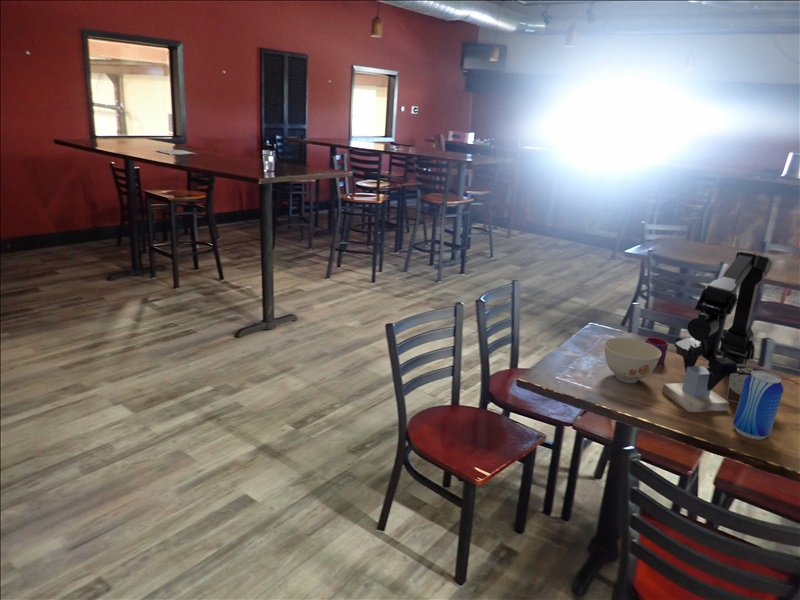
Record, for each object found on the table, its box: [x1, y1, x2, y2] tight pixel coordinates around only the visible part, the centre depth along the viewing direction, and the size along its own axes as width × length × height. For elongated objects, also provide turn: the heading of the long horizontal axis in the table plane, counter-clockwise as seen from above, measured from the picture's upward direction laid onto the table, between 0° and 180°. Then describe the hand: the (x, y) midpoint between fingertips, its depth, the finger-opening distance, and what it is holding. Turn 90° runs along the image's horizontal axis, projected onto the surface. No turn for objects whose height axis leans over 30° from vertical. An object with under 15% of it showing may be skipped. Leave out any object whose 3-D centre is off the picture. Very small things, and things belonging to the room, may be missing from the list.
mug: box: [645, 336, 669, 366], centre depth 191 cm, size 7×10×7 cm
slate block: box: [682, 365, 711, 397], centre depth 163 cm, size 5×5×7 cm
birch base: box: [661, 382, 730, 413], centre depth 164 cm, size 12×12×2 cm
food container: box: [726, 363, 775, 404], centre depth 165 cm, size 12×6×10 cm, turn 59°
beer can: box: [732, 371, 784, 441], centre depth 147 cm, size 8×8×16 cm
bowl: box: [603, 337, 661, 384], centre depth 175 cm, size 16×16×10 cm
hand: (698, 382), depth 163 cm, fingers open, 9 cm apart
